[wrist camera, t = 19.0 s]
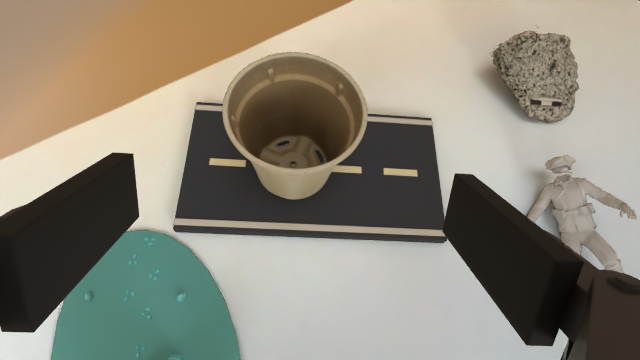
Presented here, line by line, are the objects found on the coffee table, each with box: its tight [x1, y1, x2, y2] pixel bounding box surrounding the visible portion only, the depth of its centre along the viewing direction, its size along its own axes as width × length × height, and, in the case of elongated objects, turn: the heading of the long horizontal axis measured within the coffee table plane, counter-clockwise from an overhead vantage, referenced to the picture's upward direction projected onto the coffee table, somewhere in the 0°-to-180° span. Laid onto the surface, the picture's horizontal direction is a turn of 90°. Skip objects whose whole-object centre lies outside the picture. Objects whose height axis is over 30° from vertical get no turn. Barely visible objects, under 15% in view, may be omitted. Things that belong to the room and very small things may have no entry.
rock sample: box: [490, 25, 587, 122], centre depth 37 cm, size 10×8×9 cm
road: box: [173, 102, 447, 243], centre depth 33 cm, size 22×12×1 cm, turn 89°
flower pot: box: [222, 52, 368, 200], centre depth 28 cm, size 9×9×9 cm
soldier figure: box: [527, 156, 636, 273], centre depth 31 cm, size 8×5×12 cm
